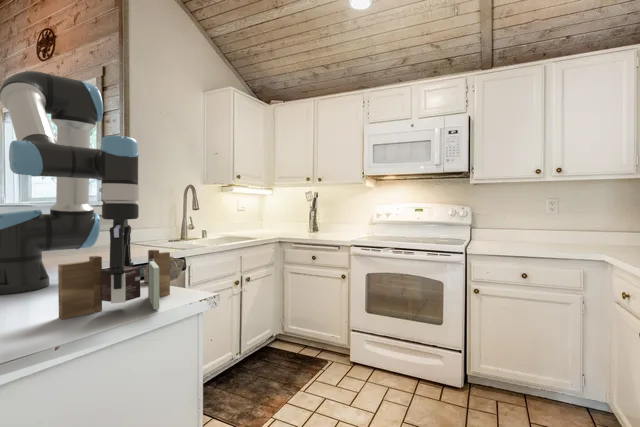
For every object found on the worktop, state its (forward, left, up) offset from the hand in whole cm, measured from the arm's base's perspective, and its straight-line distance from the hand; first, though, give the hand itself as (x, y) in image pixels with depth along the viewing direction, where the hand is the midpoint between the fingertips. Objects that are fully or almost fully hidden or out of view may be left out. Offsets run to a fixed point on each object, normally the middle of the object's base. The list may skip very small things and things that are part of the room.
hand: (121, 297), depth 82 cm
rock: (-22, +26, -4) cm, 34 cm away
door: (+1, +7, -3) cm, 8 cm away
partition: (-6, +3, -3) cm, 7 cm away
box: (0, 0, -1) cm, 1 cm away
